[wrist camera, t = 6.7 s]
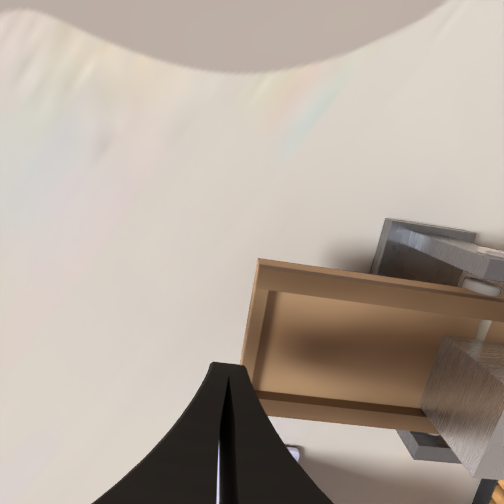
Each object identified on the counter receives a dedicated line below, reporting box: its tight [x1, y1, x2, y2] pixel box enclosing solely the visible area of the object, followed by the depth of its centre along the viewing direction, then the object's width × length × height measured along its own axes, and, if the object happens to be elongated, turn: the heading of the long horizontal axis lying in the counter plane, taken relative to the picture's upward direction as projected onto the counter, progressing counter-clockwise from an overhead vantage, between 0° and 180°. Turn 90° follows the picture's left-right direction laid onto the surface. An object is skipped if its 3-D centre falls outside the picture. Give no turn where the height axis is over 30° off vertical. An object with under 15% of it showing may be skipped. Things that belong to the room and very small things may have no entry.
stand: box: [370, 218, 504, 464], centre depth 19 cm, size 13×6×8 cm, turn 171°
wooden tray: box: [240, 258, 504, 434], centre depth 16 cm, size 9×24×2 cm, turn 81°
